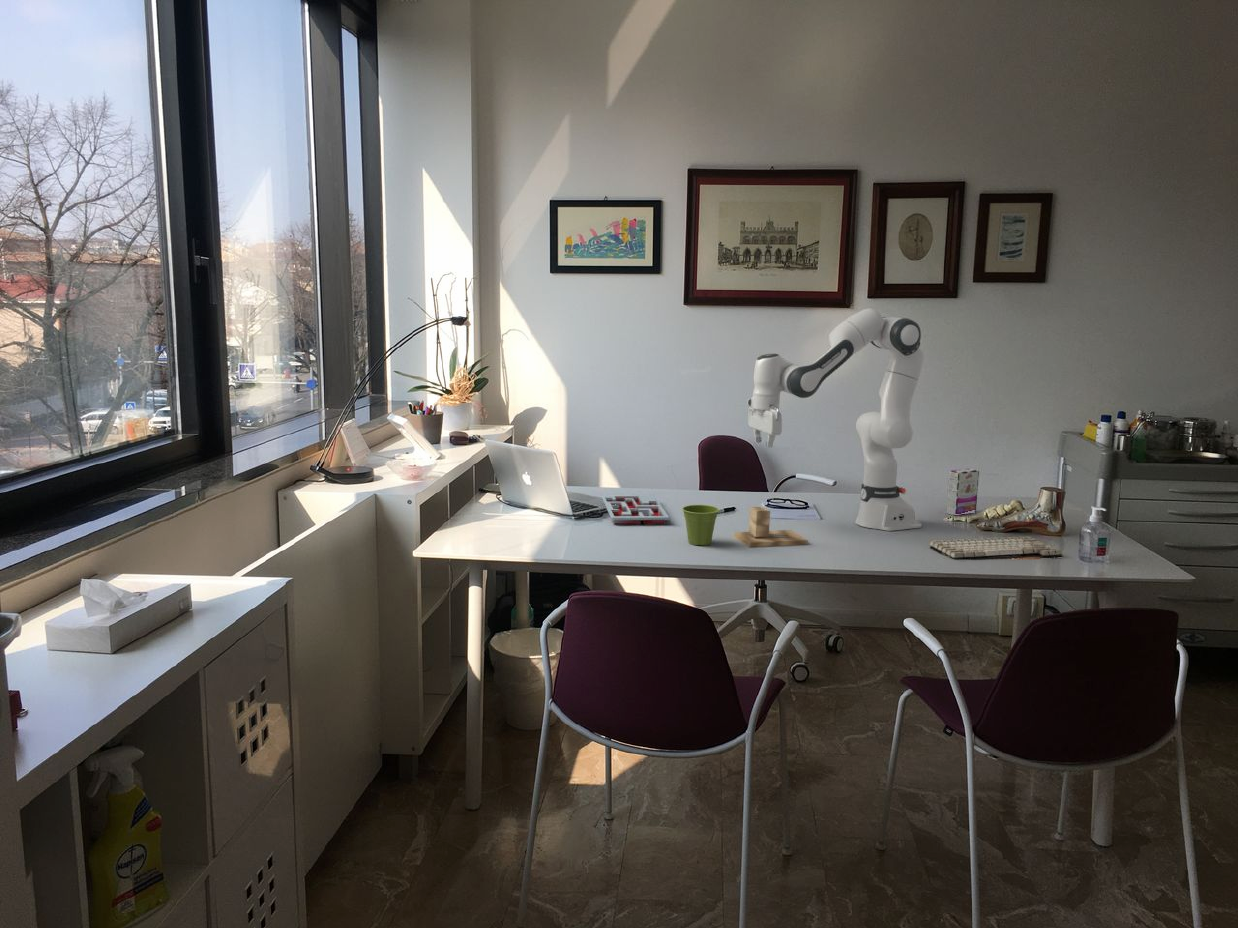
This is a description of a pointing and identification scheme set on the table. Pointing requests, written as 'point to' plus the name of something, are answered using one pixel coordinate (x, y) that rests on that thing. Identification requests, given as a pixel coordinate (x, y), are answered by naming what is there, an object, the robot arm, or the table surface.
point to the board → (772, 539)
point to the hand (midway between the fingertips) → (763, 444)
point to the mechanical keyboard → (995, 548)
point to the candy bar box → (962, 490)
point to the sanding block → (759, 522)
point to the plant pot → (700, 523)
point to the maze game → (635, 509)
